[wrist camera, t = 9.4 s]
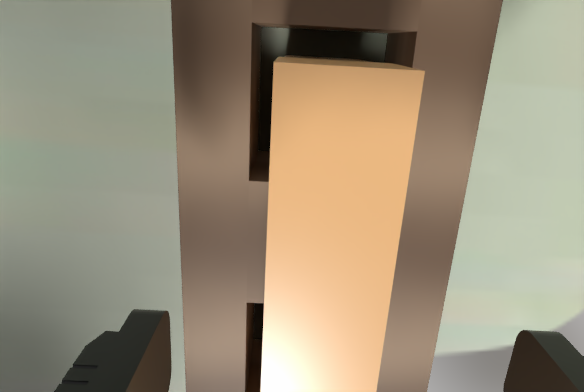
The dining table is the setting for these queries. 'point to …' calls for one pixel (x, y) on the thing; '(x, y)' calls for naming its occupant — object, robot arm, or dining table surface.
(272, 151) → the tan u-shaped block
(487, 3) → the brown slotted wooden block
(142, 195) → the dining table surface
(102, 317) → the dining table surface
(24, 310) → the dining table surface
